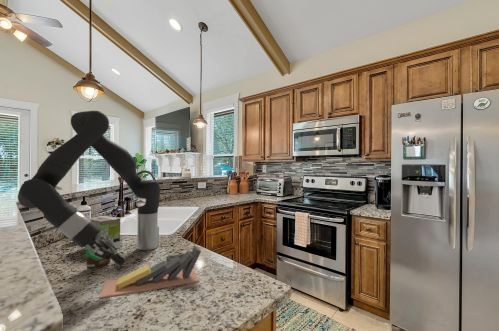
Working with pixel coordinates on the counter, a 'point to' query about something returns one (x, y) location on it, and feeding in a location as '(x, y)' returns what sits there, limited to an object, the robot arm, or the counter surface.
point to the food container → (95, 257)
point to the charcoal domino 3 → (184, 261)
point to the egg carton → (174, 257)
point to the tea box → (109, 228)
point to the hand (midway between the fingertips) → (123, 262)
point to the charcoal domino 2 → (168, 269)
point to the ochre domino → (134, 276)
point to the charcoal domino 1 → (153, 272)
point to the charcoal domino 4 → (190, 265)
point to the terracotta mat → (146, 285)
